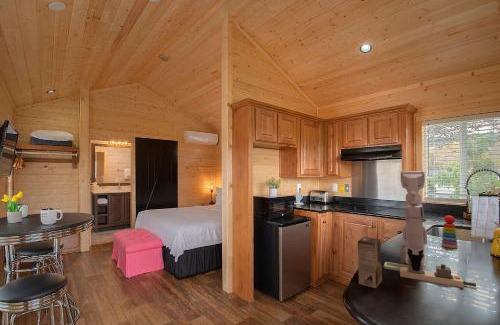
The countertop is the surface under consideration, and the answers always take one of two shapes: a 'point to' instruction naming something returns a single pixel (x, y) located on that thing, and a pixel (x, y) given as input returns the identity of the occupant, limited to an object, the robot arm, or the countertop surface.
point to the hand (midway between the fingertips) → (415, 268)
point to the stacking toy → (449, 233)
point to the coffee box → (369, 262)
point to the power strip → (435, 278)
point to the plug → (412, 269)
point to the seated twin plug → (443, 271)
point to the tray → (394, 266)
